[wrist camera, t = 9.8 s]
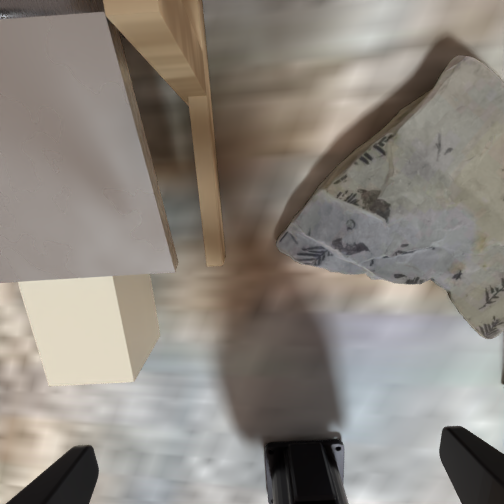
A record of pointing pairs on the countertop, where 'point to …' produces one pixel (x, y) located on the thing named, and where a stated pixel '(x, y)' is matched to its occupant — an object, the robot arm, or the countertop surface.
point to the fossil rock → (421, 199)
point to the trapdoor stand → (181, 88)
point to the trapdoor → (73, 150)
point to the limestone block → (92, 327)
